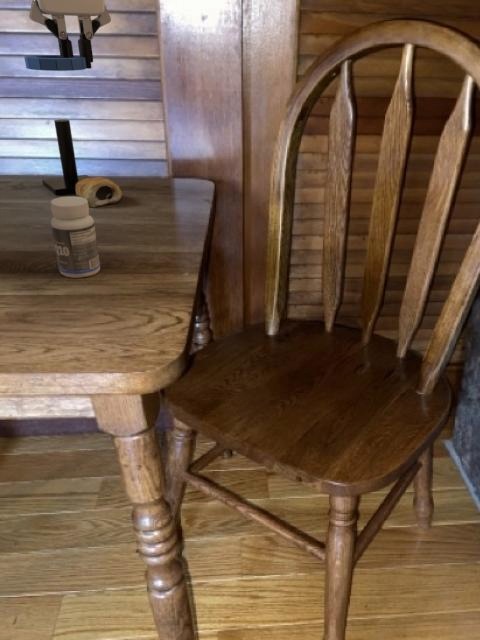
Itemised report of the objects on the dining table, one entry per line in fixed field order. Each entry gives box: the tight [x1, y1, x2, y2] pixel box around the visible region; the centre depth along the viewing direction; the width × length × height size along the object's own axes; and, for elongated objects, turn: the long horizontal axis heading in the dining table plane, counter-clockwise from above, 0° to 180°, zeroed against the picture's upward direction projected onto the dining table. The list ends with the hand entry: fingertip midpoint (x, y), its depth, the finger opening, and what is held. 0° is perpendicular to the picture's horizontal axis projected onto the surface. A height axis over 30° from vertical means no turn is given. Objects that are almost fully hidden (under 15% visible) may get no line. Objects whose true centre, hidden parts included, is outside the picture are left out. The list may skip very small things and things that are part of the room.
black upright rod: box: [41, 118, 92, 196], centre depth 98 cm, size 8×8×11 cm
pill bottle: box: [50, 195, 101, 279], centre depth 66 cm, size 5×5×8 cm
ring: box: [24, 54, 87, 72], centre depth 90 cm, size 9×9×2 cm
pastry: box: [75, 176, 123, 208], centre depth 94 cm, size 9×7×4 cm
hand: (78, 67), depth 92 cm, fingers closed on ring, 2 cm apart
